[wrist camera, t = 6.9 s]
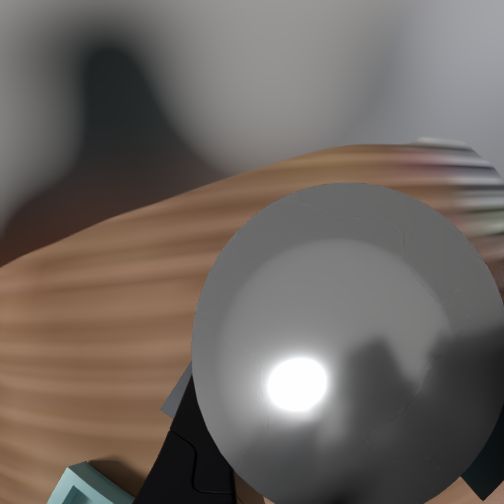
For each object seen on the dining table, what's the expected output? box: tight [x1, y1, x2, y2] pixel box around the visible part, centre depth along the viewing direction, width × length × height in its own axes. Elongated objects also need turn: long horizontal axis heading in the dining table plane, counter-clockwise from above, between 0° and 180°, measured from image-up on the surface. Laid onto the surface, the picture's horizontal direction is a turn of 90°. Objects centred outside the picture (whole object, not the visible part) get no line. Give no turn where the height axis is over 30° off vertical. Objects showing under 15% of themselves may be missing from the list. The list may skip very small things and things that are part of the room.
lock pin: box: [191, 183, 504, 504], centre depth 8 cm, size 4×4×12 cm
